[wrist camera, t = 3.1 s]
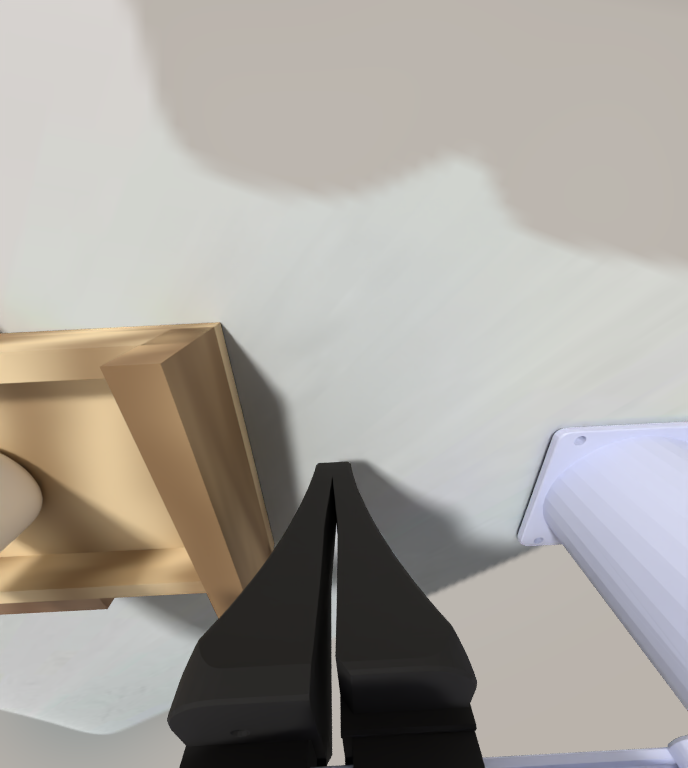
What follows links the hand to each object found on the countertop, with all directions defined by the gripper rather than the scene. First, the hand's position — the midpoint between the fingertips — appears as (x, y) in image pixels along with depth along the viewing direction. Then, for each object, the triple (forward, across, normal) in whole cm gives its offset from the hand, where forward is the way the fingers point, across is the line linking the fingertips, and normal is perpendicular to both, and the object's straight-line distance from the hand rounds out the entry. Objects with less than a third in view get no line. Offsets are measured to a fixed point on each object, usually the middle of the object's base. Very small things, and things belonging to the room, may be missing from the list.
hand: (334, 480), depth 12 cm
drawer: (+2, +13, 0) cm, 13 cm away
